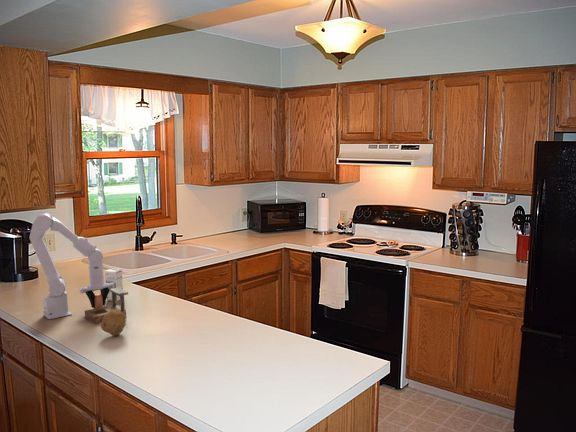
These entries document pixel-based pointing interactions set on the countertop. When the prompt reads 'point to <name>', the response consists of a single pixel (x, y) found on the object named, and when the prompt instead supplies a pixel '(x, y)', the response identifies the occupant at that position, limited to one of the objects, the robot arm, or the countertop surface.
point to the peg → (98, 300)
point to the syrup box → (114, 281)
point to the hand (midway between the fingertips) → (98, 306)
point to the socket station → (107, 307)
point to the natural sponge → (113, 322)
